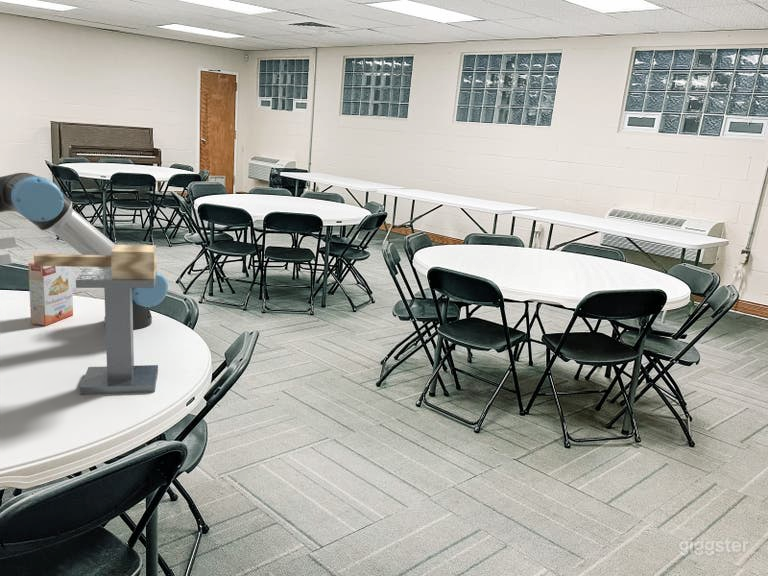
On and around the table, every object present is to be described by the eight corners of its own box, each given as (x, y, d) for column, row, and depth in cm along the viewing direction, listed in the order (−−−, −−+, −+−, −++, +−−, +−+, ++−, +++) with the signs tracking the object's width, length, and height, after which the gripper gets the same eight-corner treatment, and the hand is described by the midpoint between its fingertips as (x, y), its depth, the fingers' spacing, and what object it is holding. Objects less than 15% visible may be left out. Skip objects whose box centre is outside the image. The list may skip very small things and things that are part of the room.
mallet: (31, 277, 152) (29, 249, 151) (40, 269, 161) (38, 242, 159) (154, 279, 160) (153, 252, 159) (156, 271, 169) (156, 245, 167)
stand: (79, 394, 160) (74, 280, 153) (88, 373, 173) (84, 267, 166) (154, 391, 165) (153, 281, 158) (158, 371, 178) (156, 268, 171)
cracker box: (46, 326, 207) (42, 264, 202) (30, 324, 208) (26, 262, 203) (74, 315, 220) (72, 257, 215) (59, 313, 221) (56, 255, 216)
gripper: (-69, 260, 170) (20, 248, 178) (-88, 294, 149) (13, 279, 157) (-77, 233, 167) (13, 223, 175) (-98, 265, 146) (5, 251, 154)
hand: (13, 249), depth 166 cm, fingers open, 13 cm apart
